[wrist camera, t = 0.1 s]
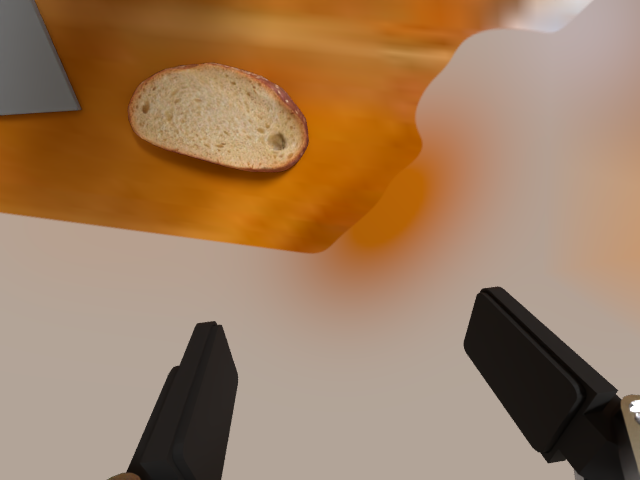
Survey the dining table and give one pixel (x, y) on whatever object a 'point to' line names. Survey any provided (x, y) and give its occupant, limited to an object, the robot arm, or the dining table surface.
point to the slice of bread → (220, 117)
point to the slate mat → (30, 64)
